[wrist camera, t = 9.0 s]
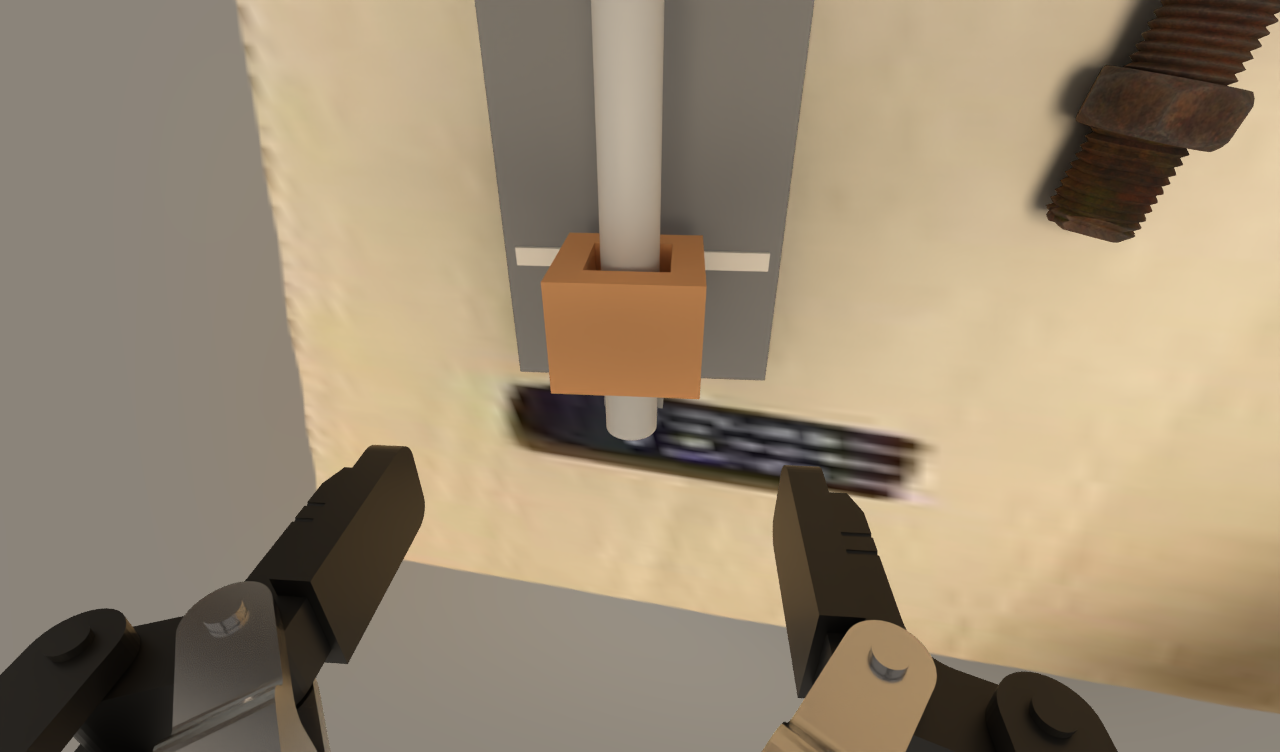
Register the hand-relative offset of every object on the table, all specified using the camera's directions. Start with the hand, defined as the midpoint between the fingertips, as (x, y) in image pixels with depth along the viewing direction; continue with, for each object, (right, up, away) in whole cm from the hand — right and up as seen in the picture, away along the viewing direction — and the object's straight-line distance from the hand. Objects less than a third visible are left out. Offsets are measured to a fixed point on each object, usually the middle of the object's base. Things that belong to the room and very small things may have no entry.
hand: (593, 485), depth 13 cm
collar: (+1, +6, +10) cm, 12 cm away
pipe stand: (+1, +13, +11) cm, 17 cm away
